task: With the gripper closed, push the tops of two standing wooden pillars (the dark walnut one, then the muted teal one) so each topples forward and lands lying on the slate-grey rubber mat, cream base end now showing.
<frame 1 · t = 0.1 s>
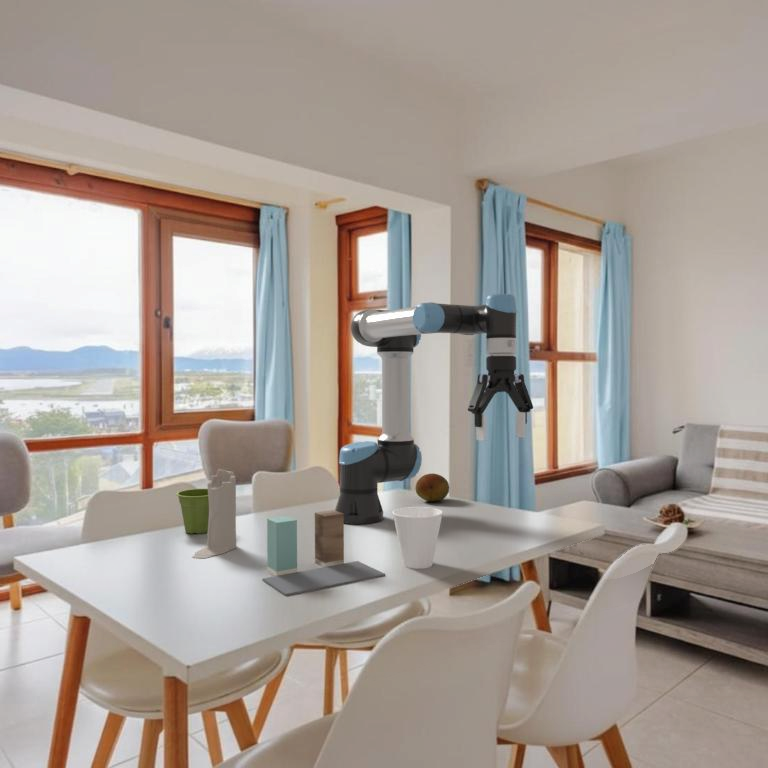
hand: (501, 438, 167), 28 cm above the table, fingers open, 13 cm apart
grey boot: (214, 551, 166), on the table
plant pot: (198, 532, 187), on the table
fruit: (432, 501, 229), on the table
walnut pillar: (329, 563, 154), on the table
cup: (417, 565, 153), on the table
slate mat: (324, 578, 143), on the table
teal pillar: (282, 572, 148), on the table
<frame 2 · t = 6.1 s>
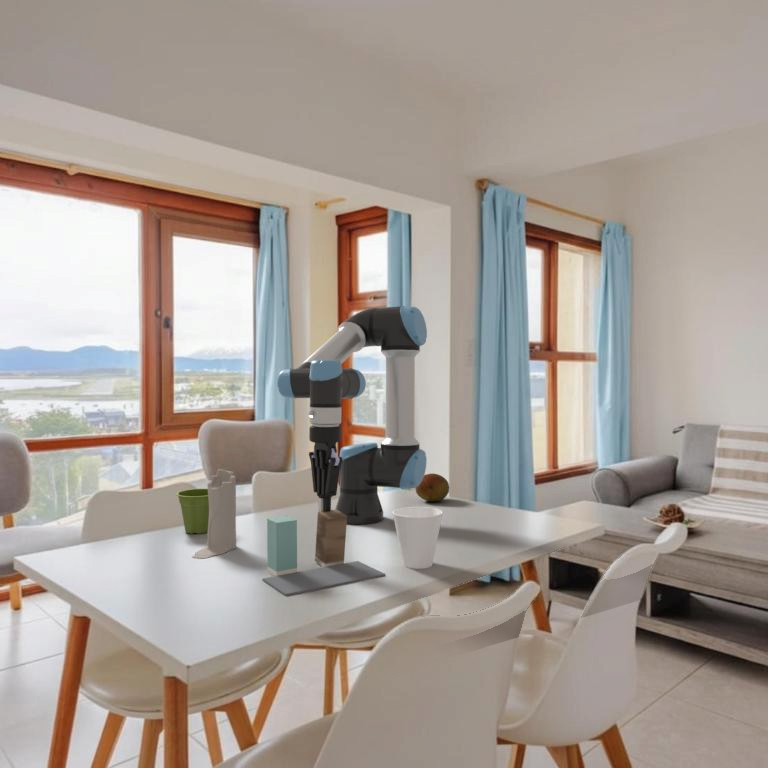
hand: (324, 524, 155), 9 cm above the table, fingers closed
walnut pillar: (329, 563, 154), on the table, tilted 8°, touching gripper
everything else where it was.
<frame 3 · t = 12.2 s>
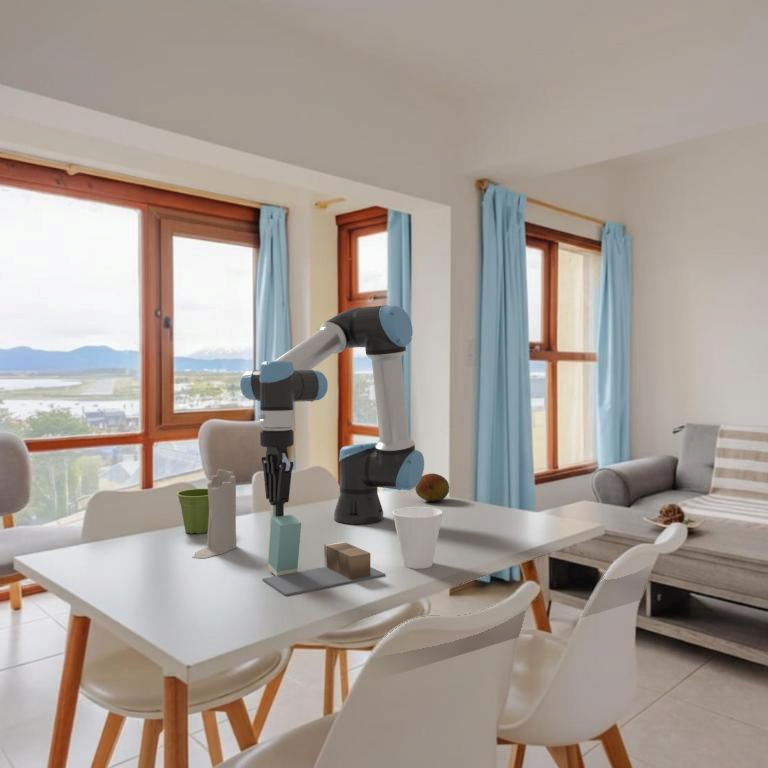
hand: (277, 532, 149), 9 cm above the table, fingers closed
walnut pillar: (333, 553, 152), point 3 cm above the table, tilted 90°, touching slate mat
teal pillar: (282, 570, 148), on the table, tilted 11°
everything else where it was.
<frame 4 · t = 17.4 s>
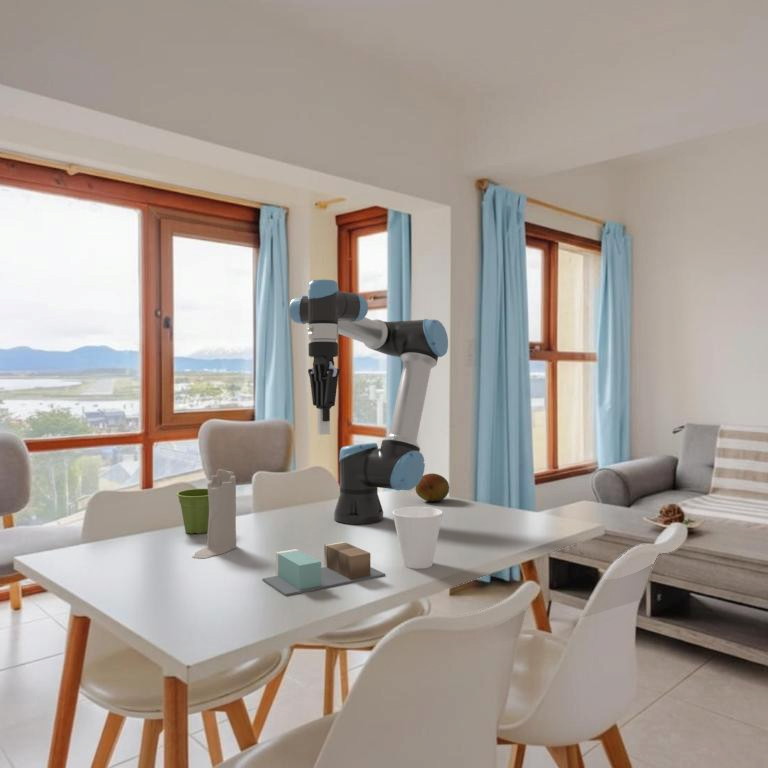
hand: (323, 434, 167), 29 cm above the table, fingers closed
teal pillar: (286, 561, 146), point 3 cm above the table, tilted 90°, touching slate mat
everything else where it was.
at the end: walnut pillar tilted 90°; teal pillar tilted 90°; walnut pillar inside the target area (6.2 cm from its centre), point 2.9 cm above the table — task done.
